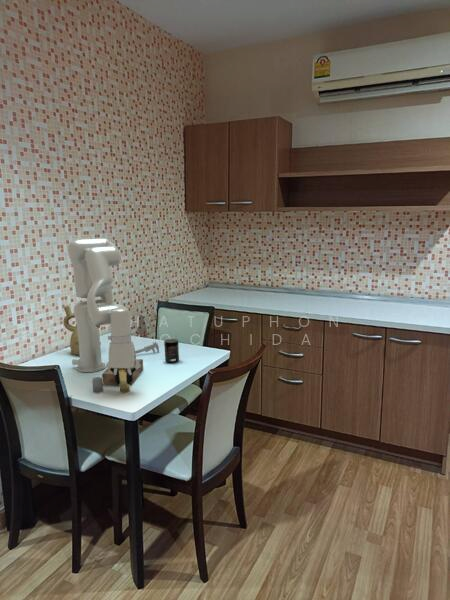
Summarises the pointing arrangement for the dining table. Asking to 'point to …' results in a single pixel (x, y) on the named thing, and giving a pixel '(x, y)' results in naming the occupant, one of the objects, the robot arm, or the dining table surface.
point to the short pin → (97, 385)
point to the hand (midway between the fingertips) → (124, 383)
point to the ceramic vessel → (74, 338)
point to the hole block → (110, 377)
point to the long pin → (123, 380)
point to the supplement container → (171, 351)
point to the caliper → (149, 348)
